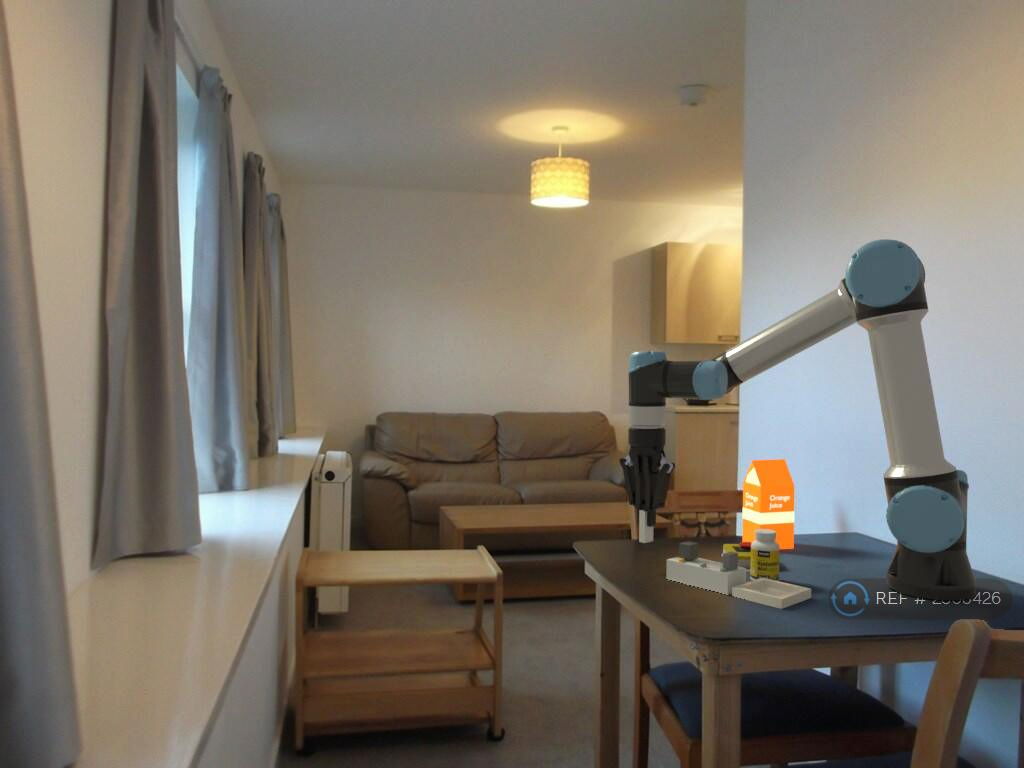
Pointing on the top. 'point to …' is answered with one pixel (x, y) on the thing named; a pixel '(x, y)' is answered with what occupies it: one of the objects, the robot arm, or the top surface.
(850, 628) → the top surface
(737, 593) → the shallow cream rectangular tray
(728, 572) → the long low white box
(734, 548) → the emergency button
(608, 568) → the top surface
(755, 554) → the supplement bottle
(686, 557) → the switch
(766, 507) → the orange juice
